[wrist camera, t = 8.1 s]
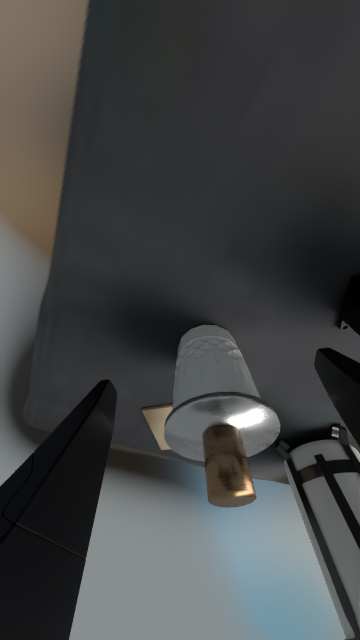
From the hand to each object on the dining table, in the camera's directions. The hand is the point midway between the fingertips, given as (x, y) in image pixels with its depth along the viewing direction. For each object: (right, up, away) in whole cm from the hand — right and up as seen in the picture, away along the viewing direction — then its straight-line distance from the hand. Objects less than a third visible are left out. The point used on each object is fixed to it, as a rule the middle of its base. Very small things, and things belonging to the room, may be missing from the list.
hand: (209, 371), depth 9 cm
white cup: (+2, -1, +16) cm, 16 cm away
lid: (+2, -7, +8) cm, 10 cm away
